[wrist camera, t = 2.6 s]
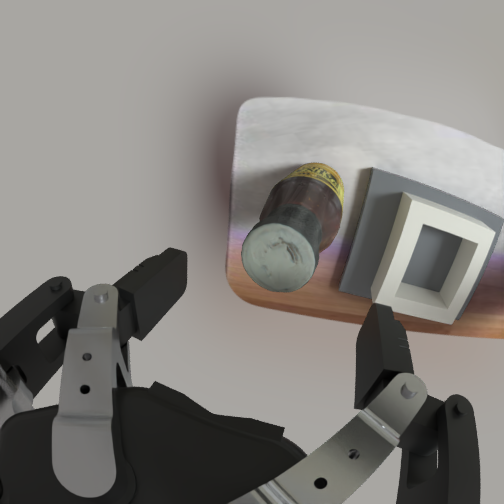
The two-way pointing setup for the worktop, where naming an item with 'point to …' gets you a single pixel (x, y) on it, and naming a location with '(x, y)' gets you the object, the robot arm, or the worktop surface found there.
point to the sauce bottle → (294, 228)
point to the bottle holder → (419, 248)
